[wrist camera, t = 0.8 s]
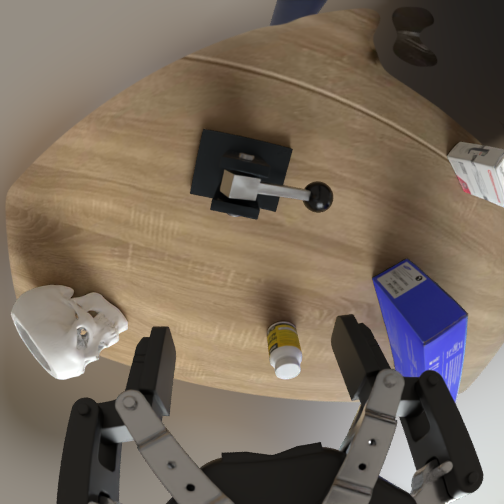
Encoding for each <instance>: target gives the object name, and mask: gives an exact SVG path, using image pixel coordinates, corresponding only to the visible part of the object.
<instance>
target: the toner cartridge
mask: <svg viewBox="0 0 504 504" xmlns="http://www.w3.org/2000/svg"><path fill="white" fill-rule="evenodd" d="M372 280H373V283H374V287H375V290H376V293H377V297H378V301H379V304H380V308H381V312H382V315H383V319H384V323H385V326H386V330H387V334H388V337H389V342H390V346H391V350H392V354H393V359H394V365H395V370H396V371H398V372H399V373H401V375H402V376H404V377H420V375H421V374H422V373H423V372H424V371H426V370H434V371H436V372H438V373H439V374H440V375H441V376H442V377H443V379H444V381H445V383H446V385H447V387H448V389H449V391H450V393H451V395H452V397H453V400H454V402H455V404H456V400H457V396H458V391H459V386H460V380H461V375H462V368H463V361H464V354H465V345H466V335H467V319H468V313H467V312H466V311H465V310H464V309H463V308H462V307H461V306H460V305H459V304H458V303H457V302H456V301H455V300H454V299H453V298H452V297H451V296H450V295H449V294H448V293H447V292H445V291H444V290H443V289H442V288H441V287H440V286H439V285H438V284H437V283H436V282H434V281H433V280H432V279H431V278H430V277H429V276H428V275H427V274H425V273H424V272H423V271H422V270H421V269H420V268H419V267H418V266H417V265H415V264H414V263H413V262H411V261H410V260H409V259H408V258H407V259H405V260H403V261H401V262H400V263H398V264H397V265H394V266H393V267H391V268H389V269H387V270H386V271H384V272H382V273H380V274H379V275H377V276H375V277H373V278H372Z"/></svg>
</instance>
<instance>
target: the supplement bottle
mask: <svg viewBox="0 0 504 504" xmlns="http://www.w3.org/2000/svg"><path fill="white" fill-rule="evenodd" d="M267 341H268V351H269V360H270V364H271V365H272V366H273V367H274V368H275V374H276V376H277V377H279V378H281V379H291V378H294V377H296V376H297V375H298V374H299V373H300V370H301V369H300V362H301V360H302V352H301V348H300V343H299V339H298V335H297V331H296V328H295V326H294V325H293V324H291V323H289V322H277V323H275V324H273V325H271V326H270V327H269V329H268V331H267Z"/></svg>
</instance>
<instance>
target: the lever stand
mask: <svg viewBox="0 0 504 504" xmlns="http://www.w3.org/2000/svg"><path fill="white" fill-rule="evenodd" d="M292 150H293V149H291V148H288V147H284V146H280V145H276V144H272V143H268V142H264V141H260V140H256V139H251V138H247V137H242V136H238V135H233V134H228V133H223V132H218V131H212V130H207V129H203V132H202V136H201V141H200V145H199V150H198V155H197V160H196V165H195V170H194V175H193V180H192V185H191V191H190V194H194V195H199V196H204V197H209V198H213V199H212V203H211V208H210V210H214V211H219V212H223V213H227V214H228V215H230V216H234V217H239V216H242V217H247V218H252V219H256V220H257V219H258V215H259V211H260V208H261V209H266V210H270V211H274V212H276V209H277V205H278V202H279V198H280V197H279V196H272V195H264V194H257V197H256V201H252V200H243V199H234V198H228V197H227V196H226V195H225V194H223V193H222V192H221V191H220V188H221V183H222V179H223V174H224V170H225V169H226V170H233V171H240V172H245V173H250V174H253V175H255V176H257V177H259V178H261V182H267V183H273V184H279V185H283V183H284V180H285V176H286V172H287V168H288V165H289V161H290V157H291V154H292Z"/></svg>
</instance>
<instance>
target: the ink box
mask: <svg viewBox="0 0 504 504" xmlns="http://www.w3.org/2000/svg"><path fill="white" fill-rule="evenodd" d="M447 158H448V160H449V161H450V163H451V165H452V167H453V169H454V171H455V173H456V175H457V178H458V180H459V182H460V184H461V186H462V188H463V191H464V192H466V193H469V194H472V195H474V196H477V197H480V198H482V199H485V200H487V201H490V202H492V203H495V204H497V205H499V206H502V207H504V149H499V148H494V147H489V146H483V145H478V144H472V143H466V142H459V143H458V144H457V145H456V146H455V147H454V148H453V149H452V150H451V151H450V153H449V154H448V155H447Z"/></svg>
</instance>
